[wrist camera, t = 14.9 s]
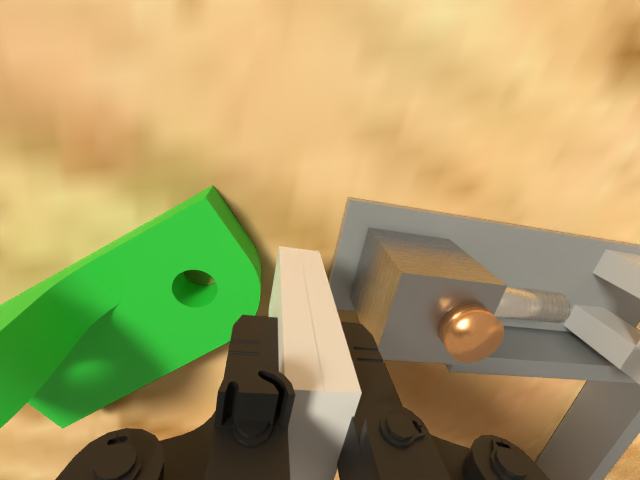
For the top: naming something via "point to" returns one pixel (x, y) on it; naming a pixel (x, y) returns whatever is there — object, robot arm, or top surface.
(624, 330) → the dock
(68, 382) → the mechanical part
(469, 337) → the pin
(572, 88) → the top surface
